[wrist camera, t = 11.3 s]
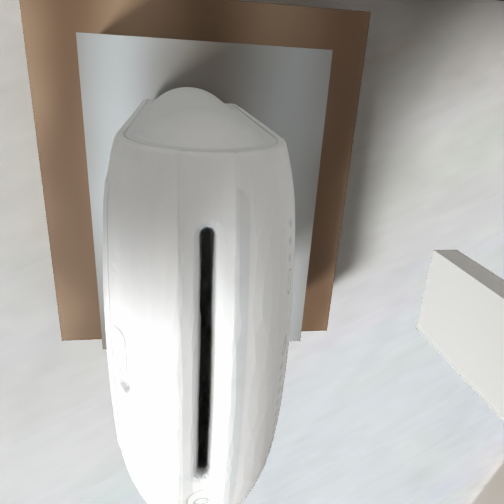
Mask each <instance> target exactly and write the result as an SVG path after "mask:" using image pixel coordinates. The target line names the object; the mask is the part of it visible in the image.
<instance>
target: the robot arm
mask: <svg viewBox="0 0 504 504" xmlns="http://www.w3.org/2000/svg"><path fill="white" fill-rule="evenodd" d="M416 329H417V330H418V331H419V332H420V333H421V334H422V335H423V336H424V337H425V338H426V340H427V341H428V342H429V343H430V344H431V345H432V346H433V347H434V348H435V349H436V350H437V351H438V352H439V353H440V355H441V356H442V357H443V358H444V359H445V360H446V361H447V362H448V363H449V364H450V365H451V366H452V367H453V368H454V369H455V371H456V372H457V373H458V374H459V375H460V376H461V377H462V378H463V379H464V380H465V381H466V382H467V383H468V384H469V385H470V387H471V388H472V389H473V390H474V391H475V392H476V393H477V394H478V395H479V396H480V397H481V398H482V399H483V400H484V402H485V403H486V404H487V405H488V406H489V407H490V408H491V409H492V410H493V411H494V412H495V413H496V414H497V415H498V416H499V418H500V419H501V420H502V421H503V422H504V280H503V279H502V278H500V277H498V276H497V275H495V274H494V273H492V272H491V271H489V270H487V269H486V268H484V267H483V266H481V265H480V264H478V263H477V262H475V261H473V260H472V259H470V258H469V257H467V256H466V255H464V254H463V253H461V252H459V251H458V250H434V252H433V256H432V260H431V265H430V269H429V274H428V278H427V282H426V287H425V291H424V296H423V300H422V305H421V309H420V313H419V318H418V322H417V327H416Z"/></svg>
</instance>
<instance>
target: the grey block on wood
mask: <svg viewBox="0 0 504 504" xmlns="http://www.w3.org/2000/svg"><path fill="white" fill-rule="evenodd" d="M19 1H20V9H21V17H22V25H23V33H24V41H25V49H26V57H27V65H28V73H29V81H30V89H31V97H32V105H33V113H34V121H35V129H36V137H37V145H38V153H39V161H40V169H41V177H42V185H43V193H44V201H45V209H46V217H47V225H48V233H49V241H50V249H51V257H52V265H53V273H54V281H55V289H56V297H57V305H58V313H59V321H60V329H61V337H62V341H64V340H90V339H102V345H103V349H107V347H106V332H105V316H104V293H103V257H102V253H103V196H104V184H105V179H106V175H107V172H108V166H109V159H110V153H111V149H112V144H113V140H114V137H115V135H116V133H117V132H118V131H119V130H120V128H121V127H122V126H123V125H124V123H125V122H126V121H127V120H128V119H129V118H130V117H131V115H132V114H133V113H134V112H135V110H136V109H137V108H138V107H139V105H140V104H141V103H142V101H143V100H145V99H151V100H155V99H157V98H158V97H159V96H161V95H162V94H164V93H165V92H167V91H169V90H172V89H175V88H180V87H194V88H199V89H202V90H205V91H207V92H209V93H211V94H213V95H214V96H216V97H217V98H218V99H220V100H221V101H222V102H223V103H226V104H228V103H232V104H236V105H237V106H239V107H240V108H242V109H243V110H245V111H246V112H248V113H249V114H250V115H252V116H253V117H254V118H256V119H257V120H259V121H260V122H261V123H263V124H264V125H265V126H267V127H268V128H269V129H271V130H272V131H274V132H275V133H276V134H277V135H279V136H280V137H281V138H283V139H284V140H285V142H286V145H287V149H288V154H289V159H290V165H291V171H292V179H293V186H294V198H295V253H294V279H293V297H292V309H291V322H290V335H289V341H300V338H301V331H322V330H327V325H328V318H329V311H330V304H331V296H332V289H333V282H334V274H335V267H336V260H337V252H338V245H339V238H340V231H341V223H342V216H343V209H344V201H345V194H346V187H347V179H348V172H349V165H350V158H351V150H352V143H353V136H354V128H355V121H356V114H357V106H358V99H359V92H360V85H361V77H362V70H363V63H364V55H365V48H366V41H367V34H368V26H369V19H370V12H364V11H352V10H340V9H329V8H317V7H305V6H293V5H282V4H270V3H258V2H246V1H235V0H19Z"/></svg>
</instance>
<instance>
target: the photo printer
mask: <svg viewBox="0 0 504 504" xmlns="http://www.w3.org/2000/svg"><path fill="white" fill-rule="evenodd" d="M294 253H295V198H294V186H293V179H292V171H291V165H290V159H289V154H288V149H287V145H286V142H285V140H284V139H283V138H281V137H280V136H279V135H277V134H276V133H275V132H274V131H272V130H271V129H269V128H268V127H267V126H265V125H264V124H263V123H261V122H260V121H259V120H257V119H256V118H254V117H253V116H252V115H250V114H249V113H248V112H246V111H245V110H243V109H242V108H240V107H239V106H237V105H236V104H232V103H228V104H226V103H223V102H222V101H221V100H220V99H218V98H217V97H216V96H214V95H213V94H211V93H209V92H207V91H205V90H202V89H199V88H194V87H180V88H175V89H172V90H169V91H167V92H165V93H164V94H162V95H161V96H159V97H158V98H157V99H155V100H151V99H145V100H143V101H142V103H141V104H140V105H139V107H138V108H137V109H136V110H135V112H134V113H133V114H132V115H131V117H130V118H129V119H128V120H127V121H126V122H125V123H124V125H123V126H122V127H121V128H120V130H119V131H118V132H117V133H116V135H115V137H114V140H113V144H112V149H111V153H110V159H109V166H108V172H107V175H106V179H105V184H104V196H103V253H102V257H103V293H104V316H105V332H106V347H107V359H108V369H109V380H110V388H111V397H112V405H113V412H114V419H115V425H116V431H117V438H118V443H119V446H120V448H121V450H122V454H123V458H124V460H125V463H126V466H127V469H128V471H129V474H130V476H131V478H132V480H133V482H134V484H135V485H136V487H137V489H138V491H139V492H140V494H141V495H142V497H143V498H144V499H145V501H146V502H147V503H148V504H241V503H242V502H243V501H244V499H245V498H246V497H247V495H248V494H249V492H250V491H251V489H252V488H253V486H254V485H255V483H256V481H257V479H258V478H259V476H260V474H261V472H262V470H263V468H264V466H265V463H266V460H267V457H268V455H269V452H270V448H271V445H272V441H273V438H274V434H275V429H276V425H277V421H278V415H279V410H280V405H281V399H282V392H283V385H284V378H285V371H286V363H287V354H288V345H289V335H290V322H291V309H292V297H293V279H294Z"/></svg>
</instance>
